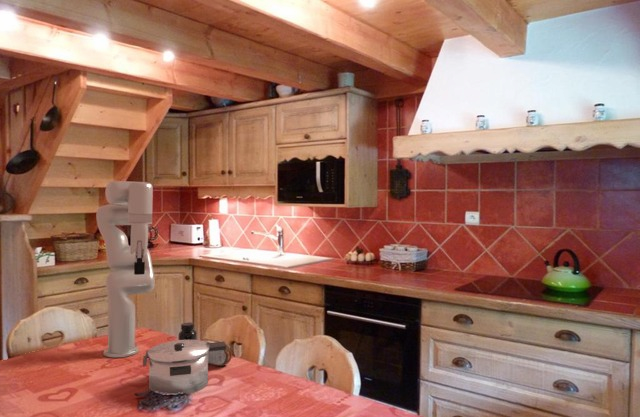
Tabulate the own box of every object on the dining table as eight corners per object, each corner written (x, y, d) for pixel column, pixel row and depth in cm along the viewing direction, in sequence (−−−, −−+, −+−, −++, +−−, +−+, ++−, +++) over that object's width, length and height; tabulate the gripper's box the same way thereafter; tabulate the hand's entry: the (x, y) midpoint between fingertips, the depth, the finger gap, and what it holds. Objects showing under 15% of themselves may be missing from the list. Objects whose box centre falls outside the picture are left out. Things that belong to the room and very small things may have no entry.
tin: (231, 366, 166) (232, 342, 166) (226, 369, 163) (226, 345, 163) (198, 359, 172) (199, 336, 172) (193, 361, 170) (193, 338, 170)
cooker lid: (146, 347, 154) (146, 339, 154) (221, 339, 162) (221, 331, 162) (144, 366, 136) (144, 357, 136) (229, 356, 144) (228, 348, 144)
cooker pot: (144, 374, 156) (144, 345, 156) (204, 368, 163) (205, 340, 163) (141, 403, 134) (141, 369, 134) (211, 395, 140) (211, 363, 140)
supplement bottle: (189, 351, 181) (189, 320, 181) (200, 354, 177) (201, 323, 177) (174, 355, 176) (174, 324, 176) (186, 359, 172) (186, 327, 172)
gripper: (129, 217, 160) (128, 270, 161) (126, 220, 146) (126, 278, 147) (152, 218, 163) (151, 270, 163) (152, 220, 149) (151, 277, 149)
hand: (139, 273), depth 155 cm, fingers closed
